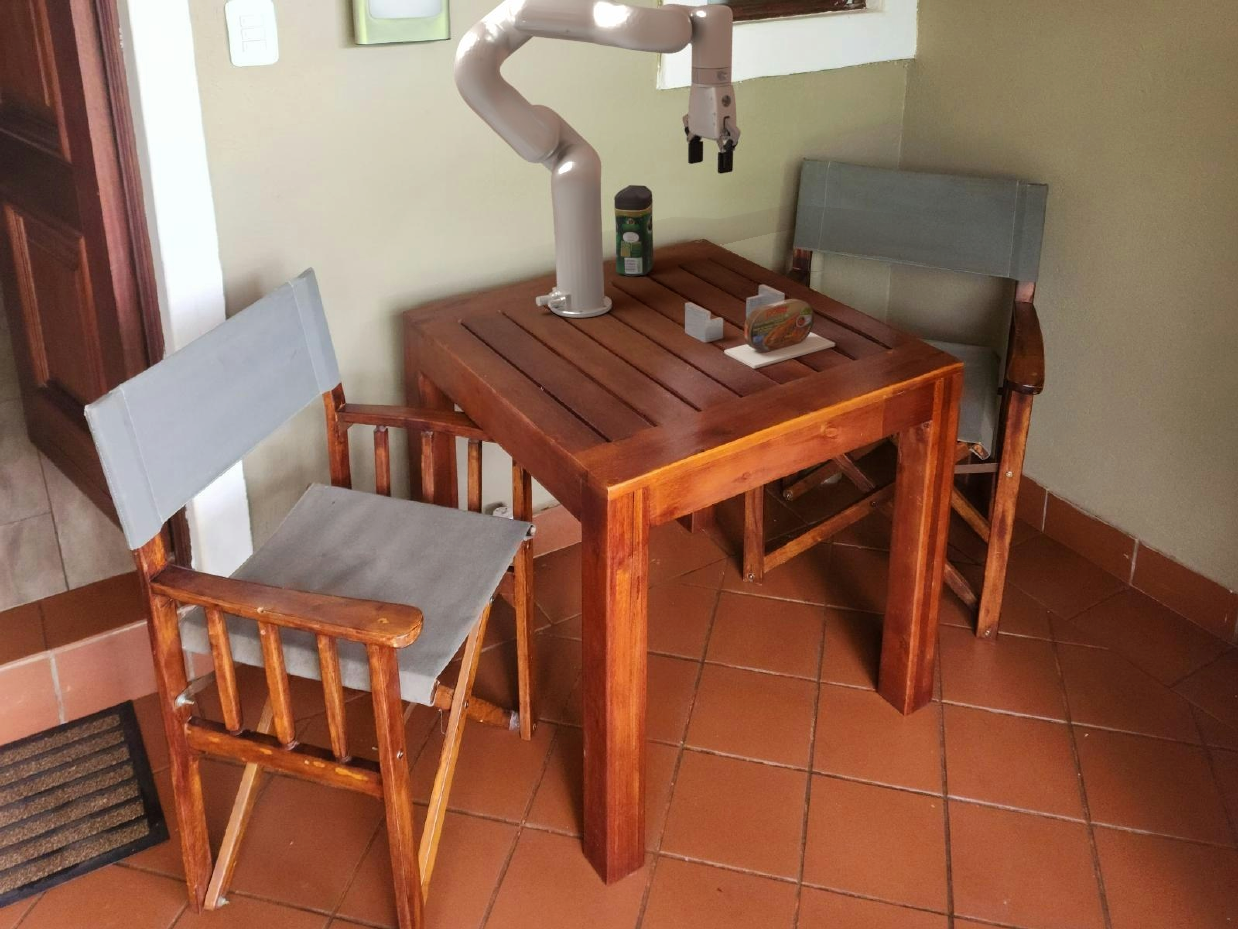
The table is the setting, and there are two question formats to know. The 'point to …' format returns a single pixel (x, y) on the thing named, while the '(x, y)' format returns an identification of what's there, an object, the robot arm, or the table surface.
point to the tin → (778, 325)
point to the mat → (778, 351)
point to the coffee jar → (634, 230)
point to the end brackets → (712, 329)
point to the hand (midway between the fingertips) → (710, 167)
